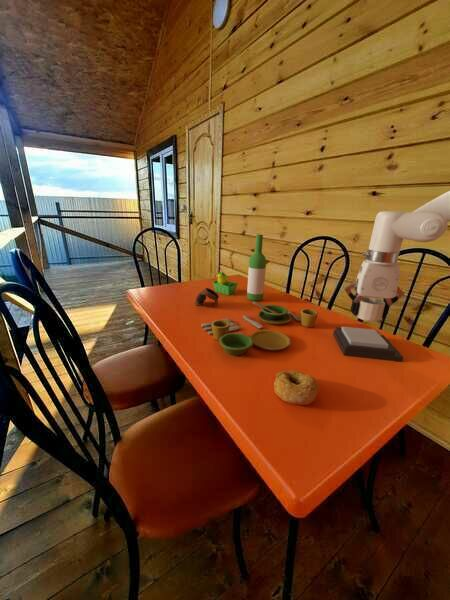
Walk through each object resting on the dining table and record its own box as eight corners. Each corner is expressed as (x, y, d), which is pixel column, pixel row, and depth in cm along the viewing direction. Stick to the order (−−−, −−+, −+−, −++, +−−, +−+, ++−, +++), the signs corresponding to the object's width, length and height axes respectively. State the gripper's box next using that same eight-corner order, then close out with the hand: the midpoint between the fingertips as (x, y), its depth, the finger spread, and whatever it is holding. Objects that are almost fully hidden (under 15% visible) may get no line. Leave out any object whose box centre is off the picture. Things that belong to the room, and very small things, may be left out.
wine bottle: (252, 302, 117) (257, 235, 107) (243, 297, 123) (247, 233, 113) (266, 300, 120) (272, 235, 110) (256, 295, 127) (261, 233, 117)
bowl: (375, 314, 80) (379, 297, 79) (384, 323, 74) (389, 305, 72) (351, 312, 81) (354, 295, 80) (358, 321, 75) (362, 303, 73)
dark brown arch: (199, 300, 118) (208, 286, 116) (214, 312, 116) (224, 298, 114) (186, 301, 107) (196, 285, 105) (202, 315, 105) (213, 299, 103)
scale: (382, 339, 86) (384, 331, 85) (402, 361, 73) (405, 352, 72) (332, 334, 88) (334, 326, 87) (343, 355, 75) (345, 346, 74)
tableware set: (285, 309, 109) (287, 295, 107) (338, 337, 86) (341, 320, 84) (195, 325, 92) (195, 308, 90) (230, 365, 69) (231, 345, 66)
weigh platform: (374, 333, 84) (375, 329, 84) (387, 349, 74) (388, 344, 74) (341, 330, 86) (341, 326, 85) (349, 345, 76) (350, 341, 75)
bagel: (307, 377, 65) (309, 361, 63) (324, 409, 54) (328, 391, 53) (268, 377, 64) (270, 361, 63) (278, 409, 54) (281, 391, 52)
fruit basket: (238, 293, 130) (239, 271, 126) (227, 297, 123) (228, 274, 119) (220, 288, 136) (221, 267, 132) (210, 292, 130) (210, 270, 126)
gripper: (353, 257, 69) (340, 317, 75) (423, 262, 67) (404, 323, 73) (345, 253, 76) (335, 308, 82) (408, 257, 74) (393, 313, 80)
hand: (367, 314), depth 77 cm, fingers closed on bowl, 7 cm apart
